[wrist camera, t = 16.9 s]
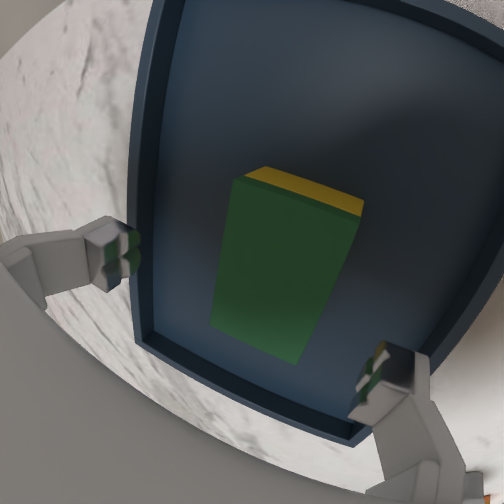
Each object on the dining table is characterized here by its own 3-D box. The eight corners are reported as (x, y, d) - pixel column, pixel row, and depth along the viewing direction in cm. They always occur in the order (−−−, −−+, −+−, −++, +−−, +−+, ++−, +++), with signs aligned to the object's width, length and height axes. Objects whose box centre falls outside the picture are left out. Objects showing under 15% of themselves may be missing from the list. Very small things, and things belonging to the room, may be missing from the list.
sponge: (265, 165, 12) (232, 178, 10) (364, 200, 11) (359, 224, 9) (237, 292, 16) (208, 325, 13) (313, 325, 15) (296, 366, 12)
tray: (189, -12, 10) (159, -25, 8) (539, 79, 6) (565, 75, 4) (154, 325, 22) (134, 343, 20) (360, 420, 18) (353, 448, 16)
